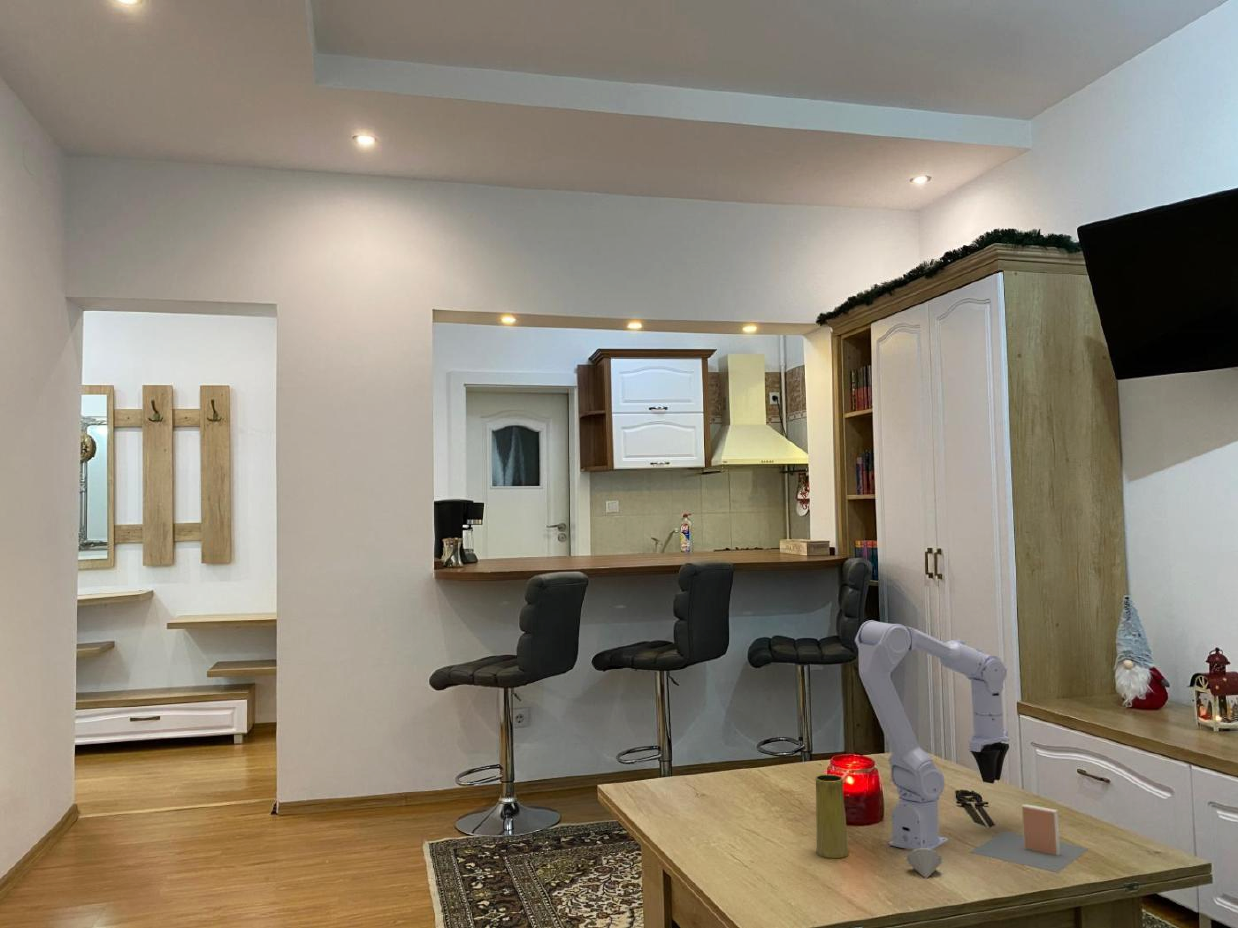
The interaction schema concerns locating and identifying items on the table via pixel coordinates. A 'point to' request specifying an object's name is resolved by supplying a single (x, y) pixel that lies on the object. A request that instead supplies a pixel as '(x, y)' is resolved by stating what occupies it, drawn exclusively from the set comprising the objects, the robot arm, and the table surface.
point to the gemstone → (924, 861)
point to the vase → (830, 817)
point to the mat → (1027, 852)
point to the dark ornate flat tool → (970, 808)
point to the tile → (1041, 829)
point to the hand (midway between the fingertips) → (991, 780)
